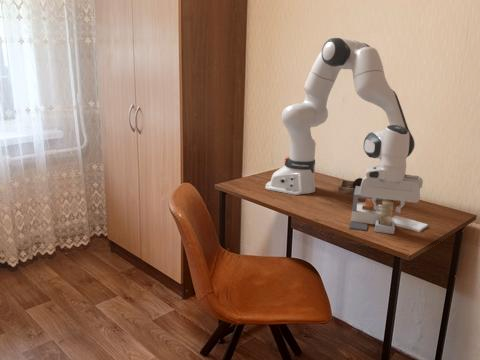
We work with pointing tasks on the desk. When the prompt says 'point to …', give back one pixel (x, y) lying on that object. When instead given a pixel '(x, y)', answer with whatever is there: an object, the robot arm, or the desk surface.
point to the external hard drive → (409, 223)
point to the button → (369, 204)
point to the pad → (358, 226)
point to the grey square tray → (384, 227)
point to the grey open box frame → (364, 210)
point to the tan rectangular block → (386, 212)
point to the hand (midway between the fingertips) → (386, 210)
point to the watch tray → (346, 190)
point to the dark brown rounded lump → (356, 183)
